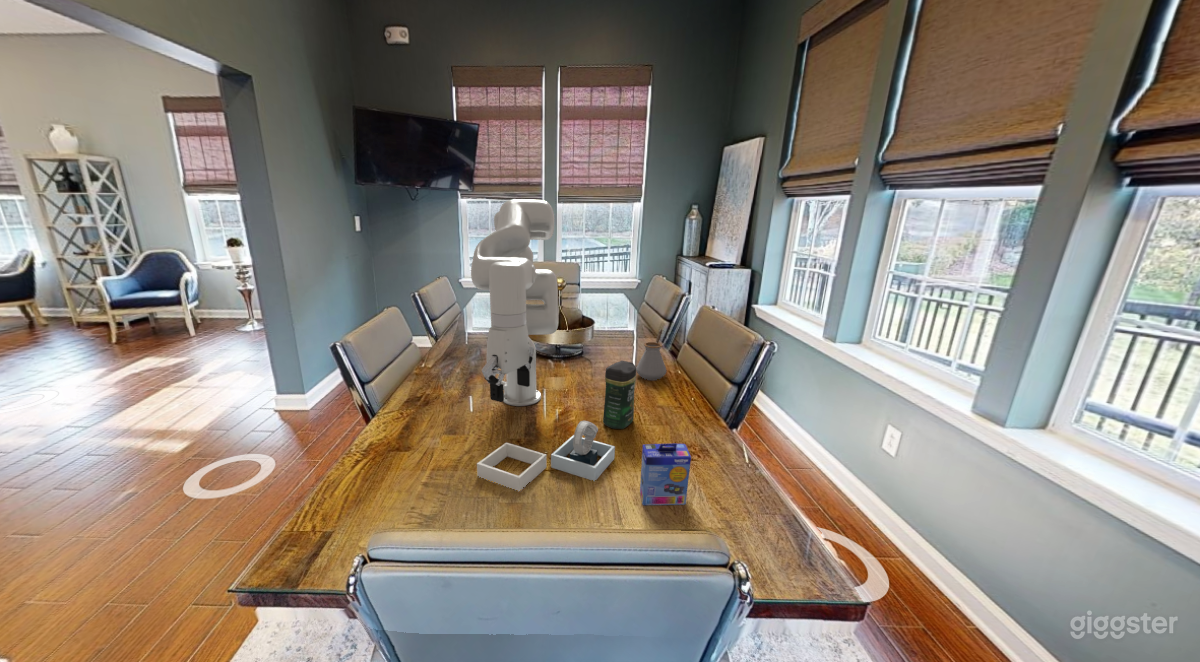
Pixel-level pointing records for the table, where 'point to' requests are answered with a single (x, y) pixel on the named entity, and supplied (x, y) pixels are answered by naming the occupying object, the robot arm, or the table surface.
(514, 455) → the tray near
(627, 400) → the coffee jar
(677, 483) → the ink cartridge box
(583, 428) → the watch
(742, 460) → the table surface
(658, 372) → the coffee pot
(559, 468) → the tray far
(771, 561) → the table surface
